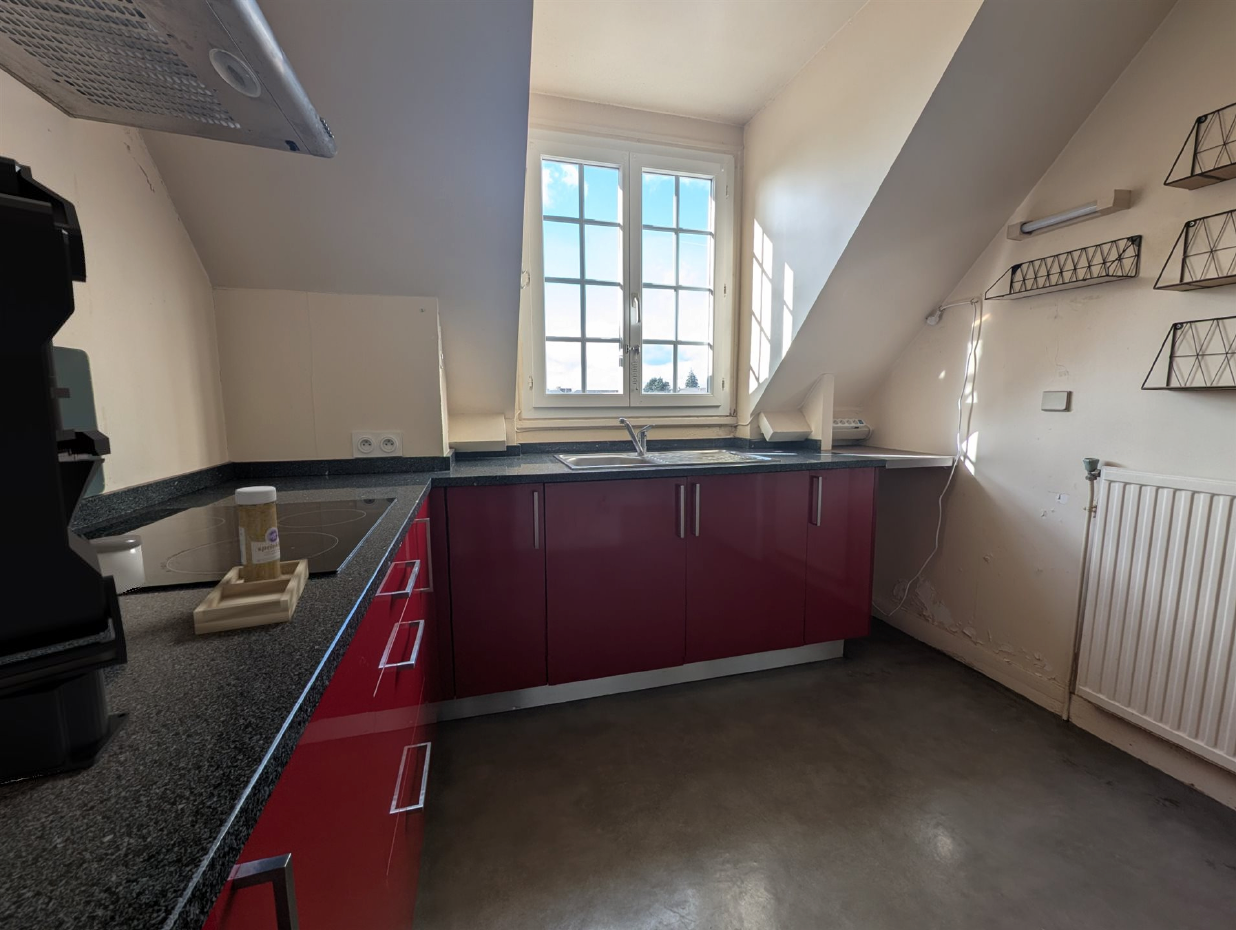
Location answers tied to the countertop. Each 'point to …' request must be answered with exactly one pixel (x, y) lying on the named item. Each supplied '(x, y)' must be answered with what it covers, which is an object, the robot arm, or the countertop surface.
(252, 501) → the sprinkles bottle
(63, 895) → the countertop surface
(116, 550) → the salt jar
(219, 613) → the caddy
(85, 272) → the robot arm
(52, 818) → the countertop surface
